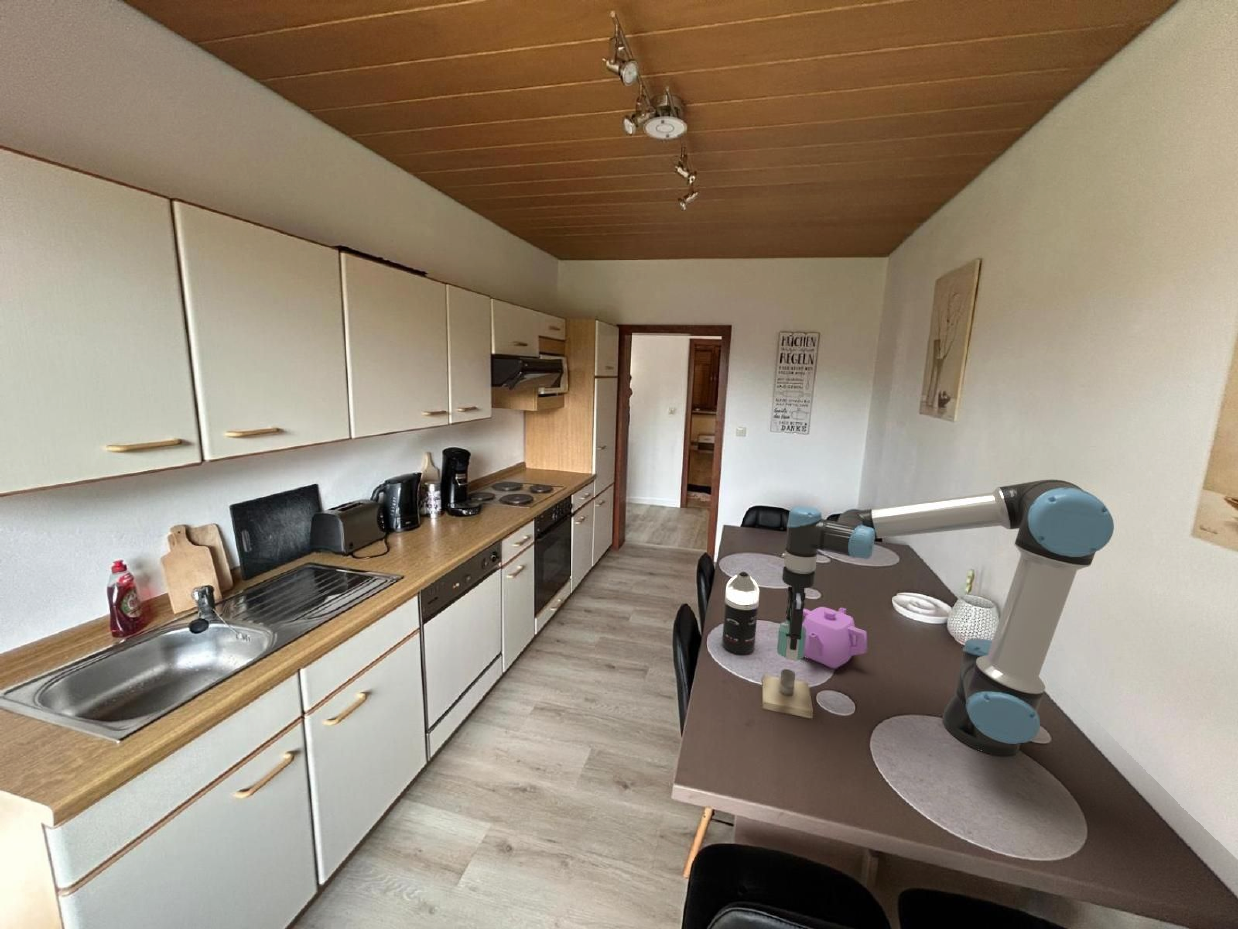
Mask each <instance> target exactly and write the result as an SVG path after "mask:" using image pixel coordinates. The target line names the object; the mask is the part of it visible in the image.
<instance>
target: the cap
mask: <svg viewBox="0 0 1238 929" xmlns="http://www.w3.org/2000/svg"><path fill="white" fill-rule="evenodd" d="M789 627H790V622H786V621H783V622H781V623H780V624H779V627H778V634H777V645H776V650H777V651H776V652H777V654H778V655H780V656H781V657H782V658H784V659H786V649H787V639H788V637H787V636H786V633H787V634H789ZM805 641H806V629H805V627H804V626H802V630H801V639H800V640H799V647H798V657H797V661H798V660H801V659H804V658H805V657H804V650H805Z"/></svg>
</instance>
